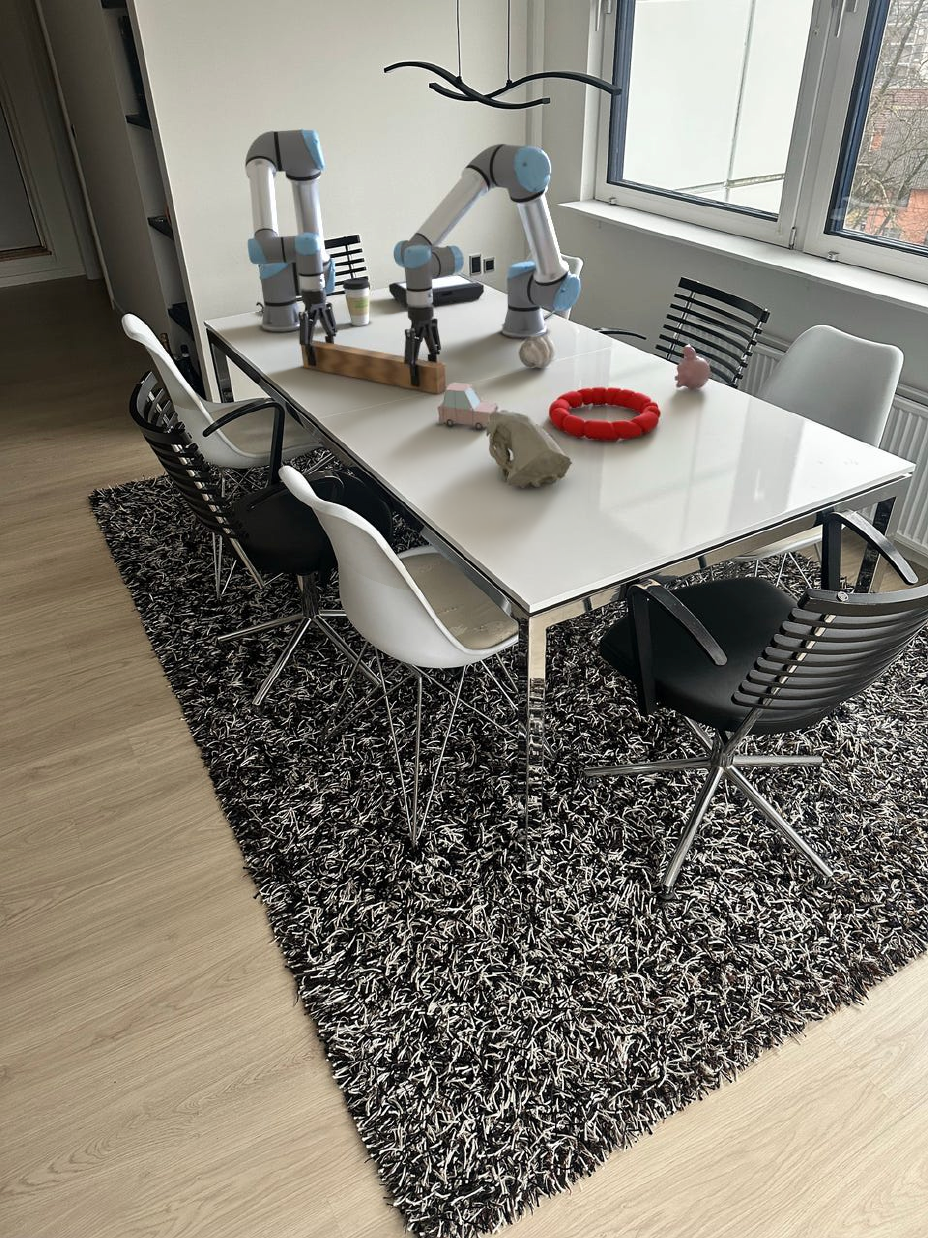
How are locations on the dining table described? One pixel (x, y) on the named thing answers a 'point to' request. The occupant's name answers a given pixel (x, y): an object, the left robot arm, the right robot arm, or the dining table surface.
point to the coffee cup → (357, 300)
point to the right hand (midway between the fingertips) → (424, 380)
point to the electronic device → (444, 290)
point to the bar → (375, 366)
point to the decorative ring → (604, 428)
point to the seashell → (536, 351)
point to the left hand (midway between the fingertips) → (321, 360)
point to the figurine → (692, 370)
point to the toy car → (465, 406)
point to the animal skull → (525, 450)
